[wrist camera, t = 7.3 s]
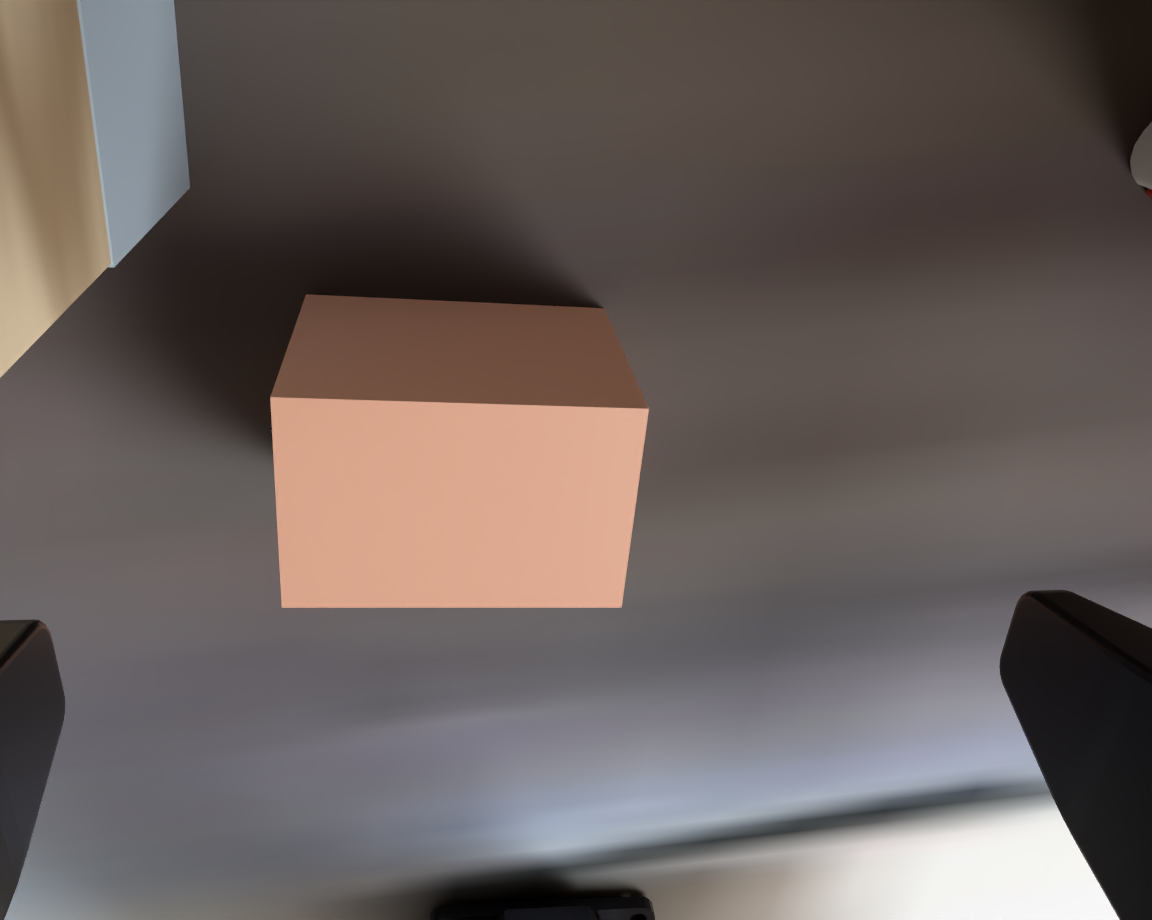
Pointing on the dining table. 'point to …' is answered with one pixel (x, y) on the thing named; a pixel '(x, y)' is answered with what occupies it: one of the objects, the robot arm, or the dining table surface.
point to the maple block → (45, 172)
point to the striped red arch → (1143, 160)
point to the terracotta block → (454, 456)
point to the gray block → (135, 113)
